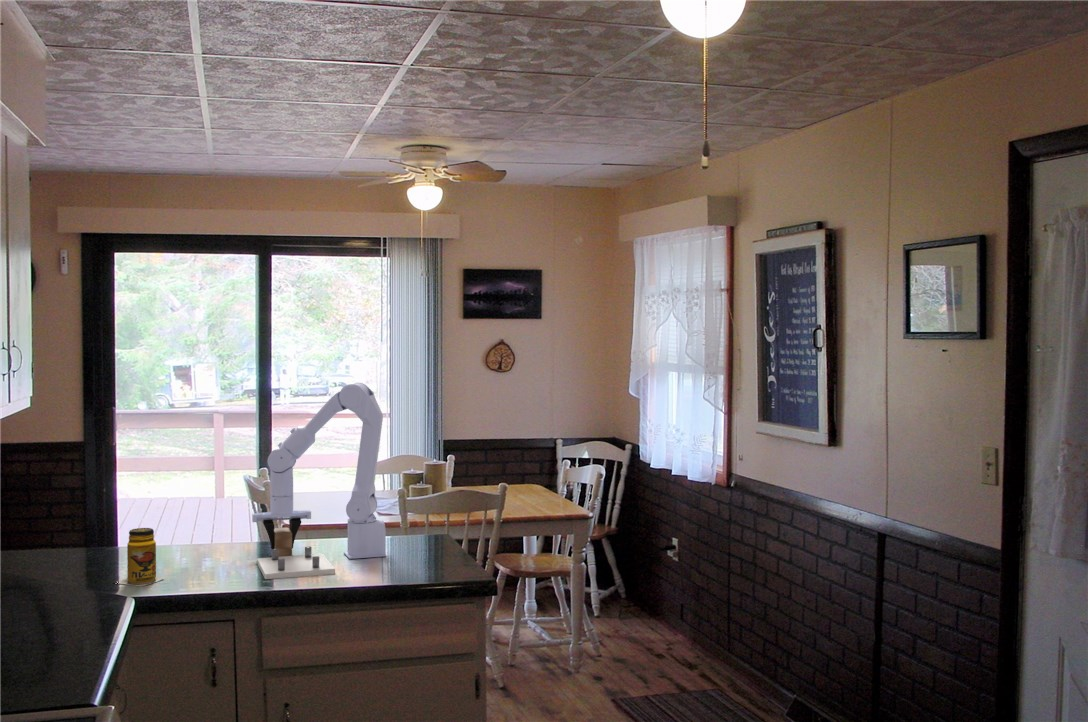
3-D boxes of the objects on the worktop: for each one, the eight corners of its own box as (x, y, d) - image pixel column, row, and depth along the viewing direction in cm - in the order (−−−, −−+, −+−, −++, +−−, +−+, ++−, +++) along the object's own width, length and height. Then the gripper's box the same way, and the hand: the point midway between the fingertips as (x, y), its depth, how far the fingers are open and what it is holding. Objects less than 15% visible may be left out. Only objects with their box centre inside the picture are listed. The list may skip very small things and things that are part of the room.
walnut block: (287, 550, 265) (287, 527, 265) (292, 556, 258) (292, 532, 258) (272, 551, 264) (272, 528, 264) (275, 557, 256) (275, 533, 256)
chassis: (322, 558, 257) (322, 543, 257) (335, 573, 240) (335, 558, 240) (256, 563, 251) (256, 548, 251) (265, 579, 234) (265, 563, 234)
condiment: (143, 586, 227) (143, 533, 227) (112, 583, 229) (112, 530, 229) (165, 579, 234) (165, 527, 233) (134, 576, 236) (134, 525, 236)
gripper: (308, 491, 267) (308, 543, 267) (250, 494, 261) (251, 547, 262) (312, 495, 260) (312, 548, 261) (253, 498, 255) (253, 552, 255)
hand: (281, 548), depth 261 cm, fingers closed on walnut block, 4 cm apart
